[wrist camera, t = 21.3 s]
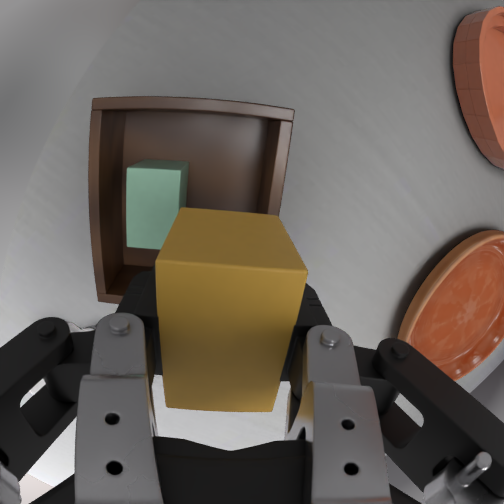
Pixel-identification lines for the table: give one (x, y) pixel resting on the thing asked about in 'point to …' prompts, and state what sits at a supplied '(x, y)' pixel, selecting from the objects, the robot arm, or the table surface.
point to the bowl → (482, 79)
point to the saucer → (460, 306)
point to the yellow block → (226, 309)
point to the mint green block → (154, 200)
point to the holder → (179, 149)
